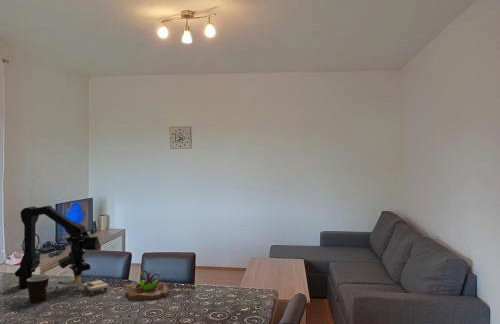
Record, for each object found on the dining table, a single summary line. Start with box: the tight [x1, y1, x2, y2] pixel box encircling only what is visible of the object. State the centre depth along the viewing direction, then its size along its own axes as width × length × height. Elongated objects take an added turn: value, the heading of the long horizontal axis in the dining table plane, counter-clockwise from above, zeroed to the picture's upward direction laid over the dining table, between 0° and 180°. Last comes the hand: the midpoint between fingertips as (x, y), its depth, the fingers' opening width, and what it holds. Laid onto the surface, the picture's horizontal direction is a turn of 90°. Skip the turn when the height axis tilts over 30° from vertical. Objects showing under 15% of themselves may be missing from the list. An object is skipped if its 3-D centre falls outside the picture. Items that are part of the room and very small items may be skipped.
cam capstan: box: [52, 274, 82, 293], centre depth 179 cm, size 12×6×5 cm, turn 132°
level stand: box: [69, 279, 109, 296], centre depth 176 cm, size 15×13×5 cm
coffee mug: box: [27, 275, 50, 304], centre depth 165 cm, size 12×9×10 cm
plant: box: [125, 270, 170, 301], centre depth 174 cm, size 20×20×11 cm
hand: (76, 280), depth 184 cm, fingers closed
